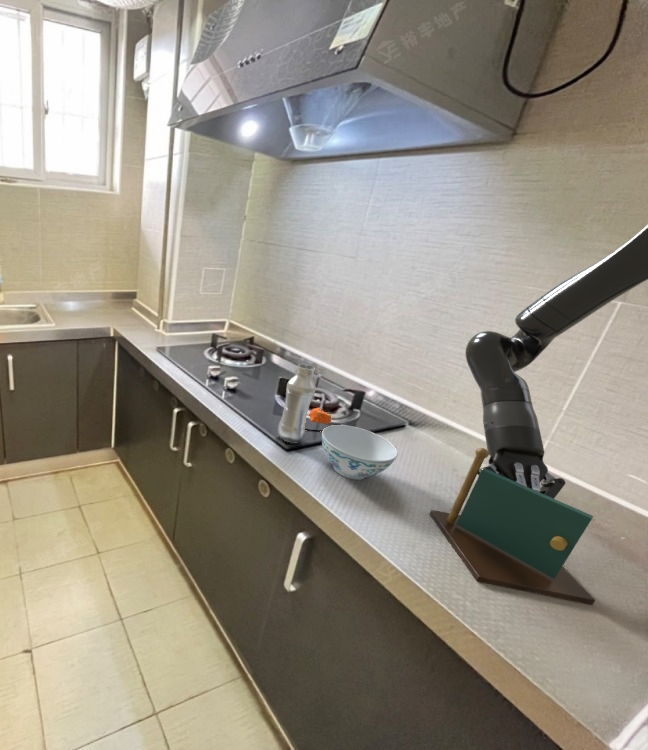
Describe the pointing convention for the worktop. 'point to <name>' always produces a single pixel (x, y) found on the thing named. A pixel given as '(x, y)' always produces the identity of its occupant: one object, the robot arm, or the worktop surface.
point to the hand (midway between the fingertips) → (529, 529)
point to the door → (523, 522)
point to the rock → (319, 416)
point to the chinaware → (357, 451)
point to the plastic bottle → (297, 404)
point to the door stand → (501, 554)
